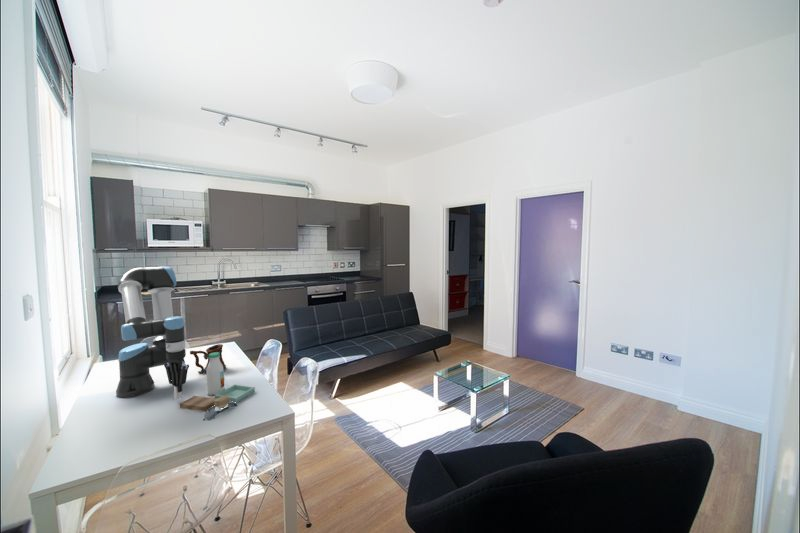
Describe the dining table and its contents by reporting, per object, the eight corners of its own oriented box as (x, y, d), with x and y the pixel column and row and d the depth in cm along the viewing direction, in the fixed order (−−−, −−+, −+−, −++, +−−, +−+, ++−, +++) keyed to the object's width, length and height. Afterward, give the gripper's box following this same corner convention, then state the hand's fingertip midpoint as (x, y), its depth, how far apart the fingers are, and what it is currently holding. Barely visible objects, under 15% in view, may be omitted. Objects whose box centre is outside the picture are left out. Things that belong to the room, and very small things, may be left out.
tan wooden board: (179, 409, 145) (179, 403, 145) (194, 400, 153) (194, 395, 153) (205, 412, 142) (204, 407, 142) (219, 403, 150) (218, 398, 150)
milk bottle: (216, 396, 156) (215, 356, 155) (203, 394, 158) (201, 355, 157) (228, 389, 164) (226, 351, 163) (215, 388, 166) (213, 350, 164)
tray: (214, 400, 152) (214, 395, 152) (234, 389, 164) (234, 384, 164) (235, 403, 149) (235, 398, 149) (254, 392, 161) (254, 387, 161)
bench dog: (214, 411, 142) (214, 400, 142) (223, 406, 147) (223, 395, 146) (220, 412, 141) (219, 401, 141) (229, 406, 146) (228, 396, 146)
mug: (192, 378, 177) (190, 352, 176) (189, 372, 186) (188, 347, 185) (228, 370, 189) (227, 346, 188) (224, 365, 197) (223, 341, 197)
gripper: (157, 351, 148) (160, 400, 149) (178, 353, 144) (181, 403, 145) (172, 346, 155) (175, 393, 156) (193, 348, 151) (195, 396, 153)
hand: (178, 398), depth 151 cm, fingers closed
